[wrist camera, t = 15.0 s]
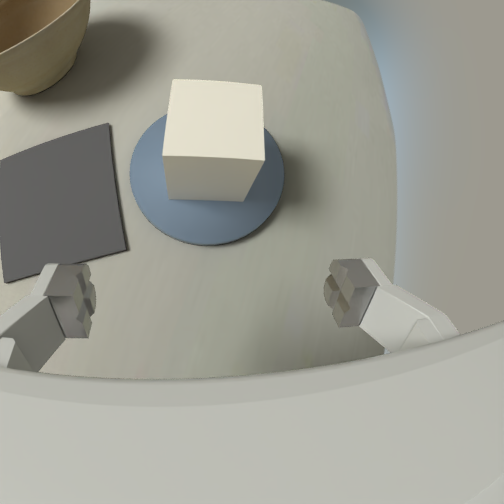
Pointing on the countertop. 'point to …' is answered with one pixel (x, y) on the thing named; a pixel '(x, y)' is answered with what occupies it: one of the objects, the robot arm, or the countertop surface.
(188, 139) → the white rectangular block
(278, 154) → the plate
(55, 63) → the planter bowl
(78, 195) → the mat
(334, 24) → the countertop surface
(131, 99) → the countertop surface
